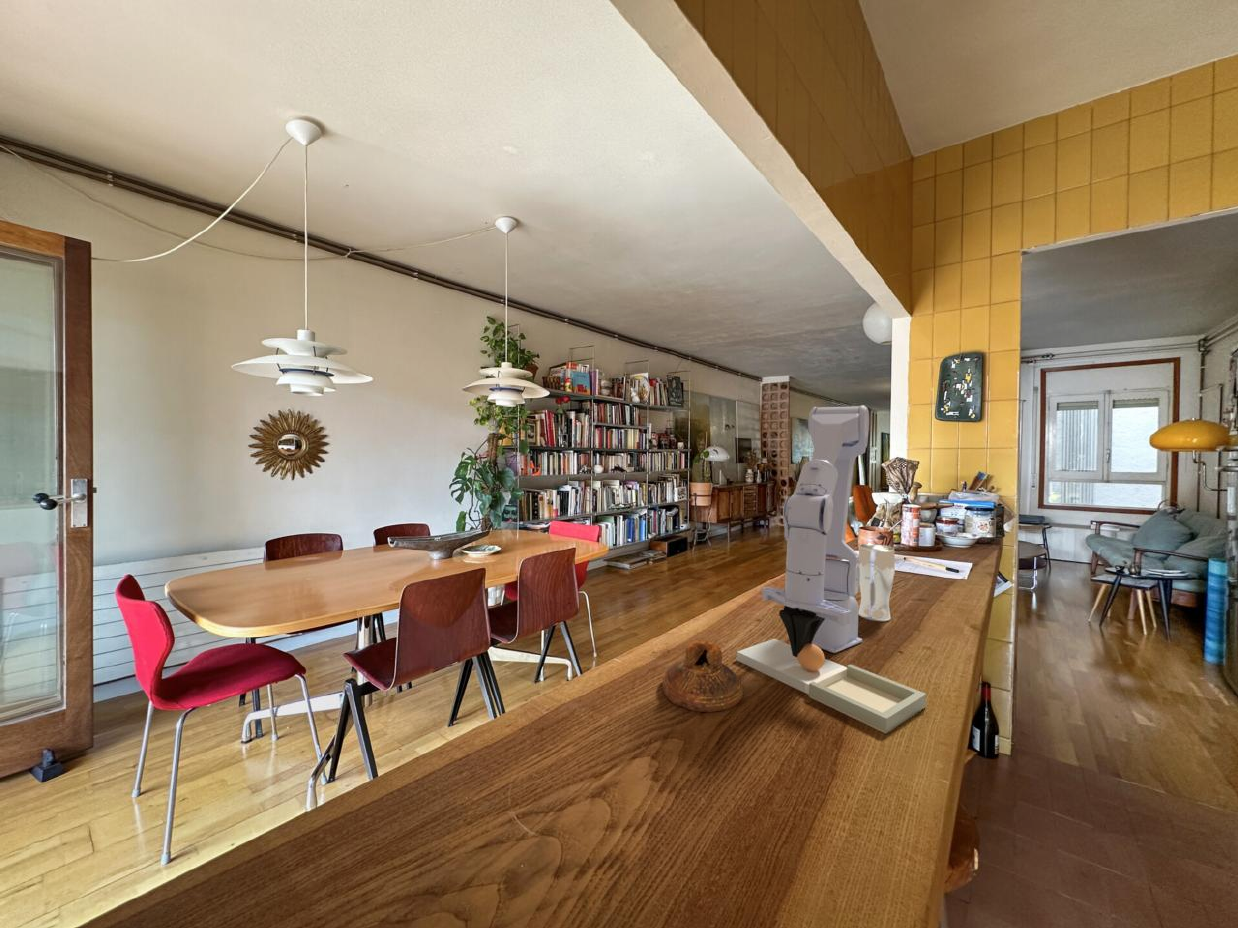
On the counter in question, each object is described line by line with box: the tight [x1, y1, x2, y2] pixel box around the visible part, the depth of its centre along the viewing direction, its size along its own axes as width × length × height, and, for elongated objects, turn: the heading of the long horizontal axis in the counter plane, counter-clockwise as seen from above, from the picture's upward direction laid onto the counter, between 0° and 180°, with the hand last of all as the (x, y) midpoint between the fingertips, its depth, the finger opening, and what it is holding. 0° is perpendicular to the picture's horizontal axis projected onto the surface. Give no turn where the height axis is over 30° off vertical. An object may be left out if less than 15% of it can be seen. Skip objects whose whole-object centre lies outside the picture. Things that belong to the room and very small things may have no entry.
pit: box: [808, 663, 927, 735], centre depth 70 cm, size 11×11×2 cm
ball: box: [797, 643, 826, 671], centre depth 77 cm, size 4×4×4 cm
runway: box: [736, 638, 847, 696], centre depth 80 cm, size 10×14×2 cm
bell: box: [661, 639, 744, 713], centre depth 73 cm, size 12×12×7 cm
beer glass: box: [858, 543, 896, 622], centre depth 105 cm, size 7×7×15 cm
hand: (801, 656), depth 78 cm, fingers closed, pressing on ball
